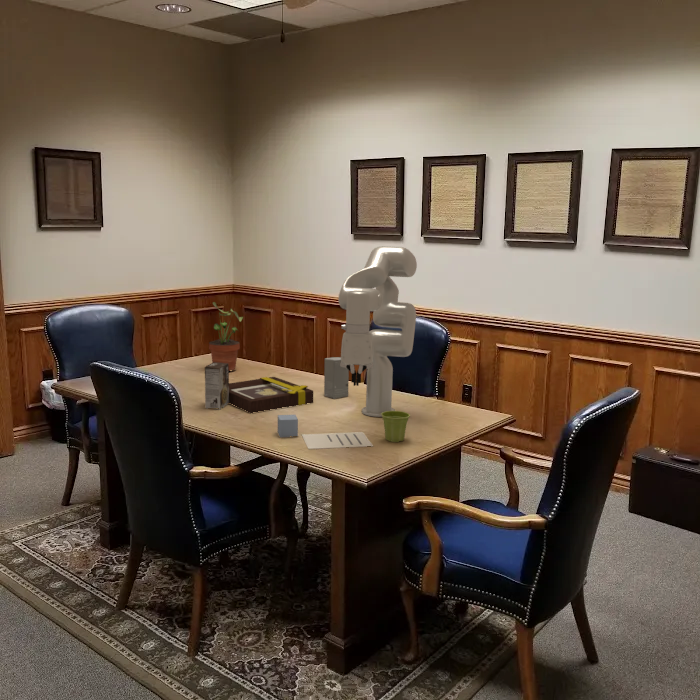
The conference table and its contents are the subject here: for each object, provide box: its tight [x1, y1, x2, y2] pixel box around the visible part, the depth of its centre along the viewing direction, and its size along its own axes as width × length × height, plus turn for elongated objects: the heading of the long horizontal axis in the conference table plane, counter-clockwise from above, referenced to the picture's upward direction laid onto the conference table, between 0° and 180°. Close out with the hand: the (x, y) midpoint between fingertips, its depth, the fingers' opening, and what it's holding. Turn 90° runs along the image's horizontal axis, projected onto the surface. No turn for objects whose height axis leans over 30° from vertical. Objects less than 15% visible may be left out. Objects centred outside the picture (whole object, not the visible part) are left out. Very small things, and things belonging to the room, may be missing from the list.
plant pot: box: [381, 410, 411, 443], centre depth 237 cm, size 9×9×9 cm
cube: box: [277, 414, 299, 438], centre depth 240 cm, size 6×6×6 cm
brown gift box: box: [229, 376, 314, 414], centre depth 283 cm, size 28×7×30 cm
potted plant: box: [208, 301, 244, 371], centre depth 332 cm, size 16×15×35 cm
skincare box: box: [323, 356, 350, 400], centre depth 292 cm, size 8×7×16 cm
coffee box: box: [204, 362, 230, 410], centre depth 272 cm, size 9×6×16 cm
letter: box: [301, 431, 374, 450], centre depth 235 cm, size 15×21×1 cm
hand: (356, 384), depth 234 cm, fingers closed
